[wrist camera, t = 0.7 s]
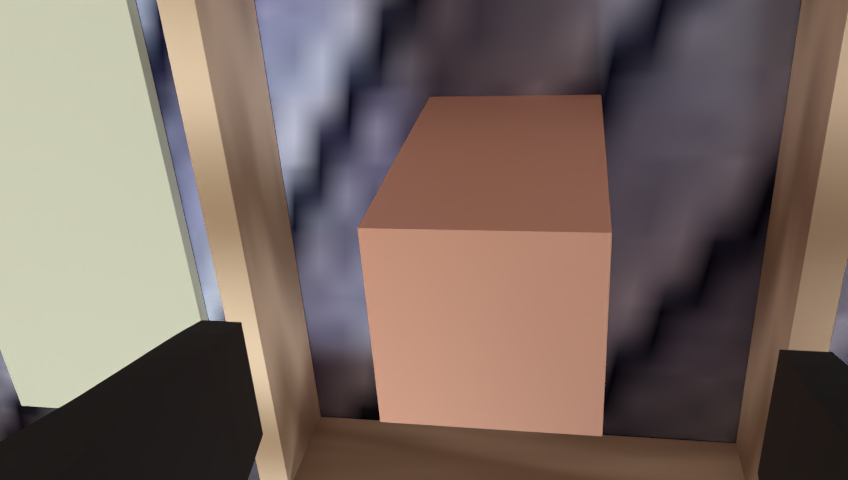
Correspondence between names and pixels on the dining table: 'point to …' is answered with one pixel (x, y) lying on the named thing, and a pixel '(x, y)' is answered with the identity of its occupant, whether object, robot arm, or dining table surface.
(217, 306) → the dining table surface
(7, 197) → the mat
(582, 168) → the block
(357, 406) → the dining table surface
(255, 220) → the wooden tray
